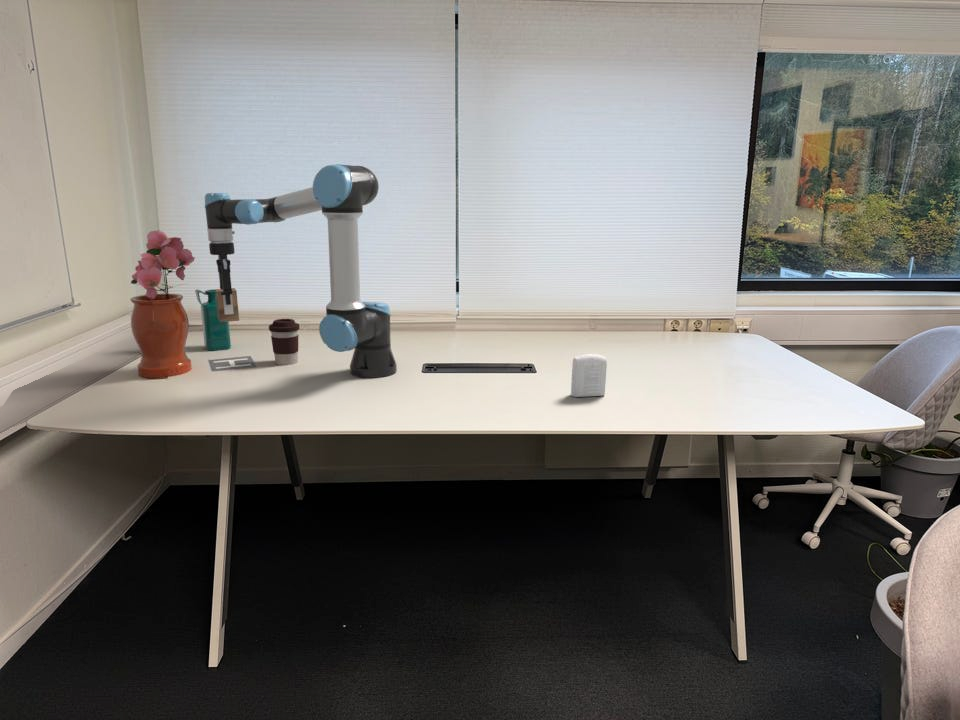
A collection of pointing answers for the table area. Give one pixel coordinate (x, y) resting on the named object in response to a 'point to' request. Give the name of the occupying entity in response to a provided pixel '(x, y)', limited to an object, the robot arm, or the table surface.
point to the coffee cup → (285, 341)
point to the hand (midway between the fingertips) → (228, 312)
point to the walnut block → (220, 306)
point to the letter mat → (231, 363)
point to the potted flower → (161, 309)
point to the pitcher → (213, 323)
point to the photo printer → (588, 375)
